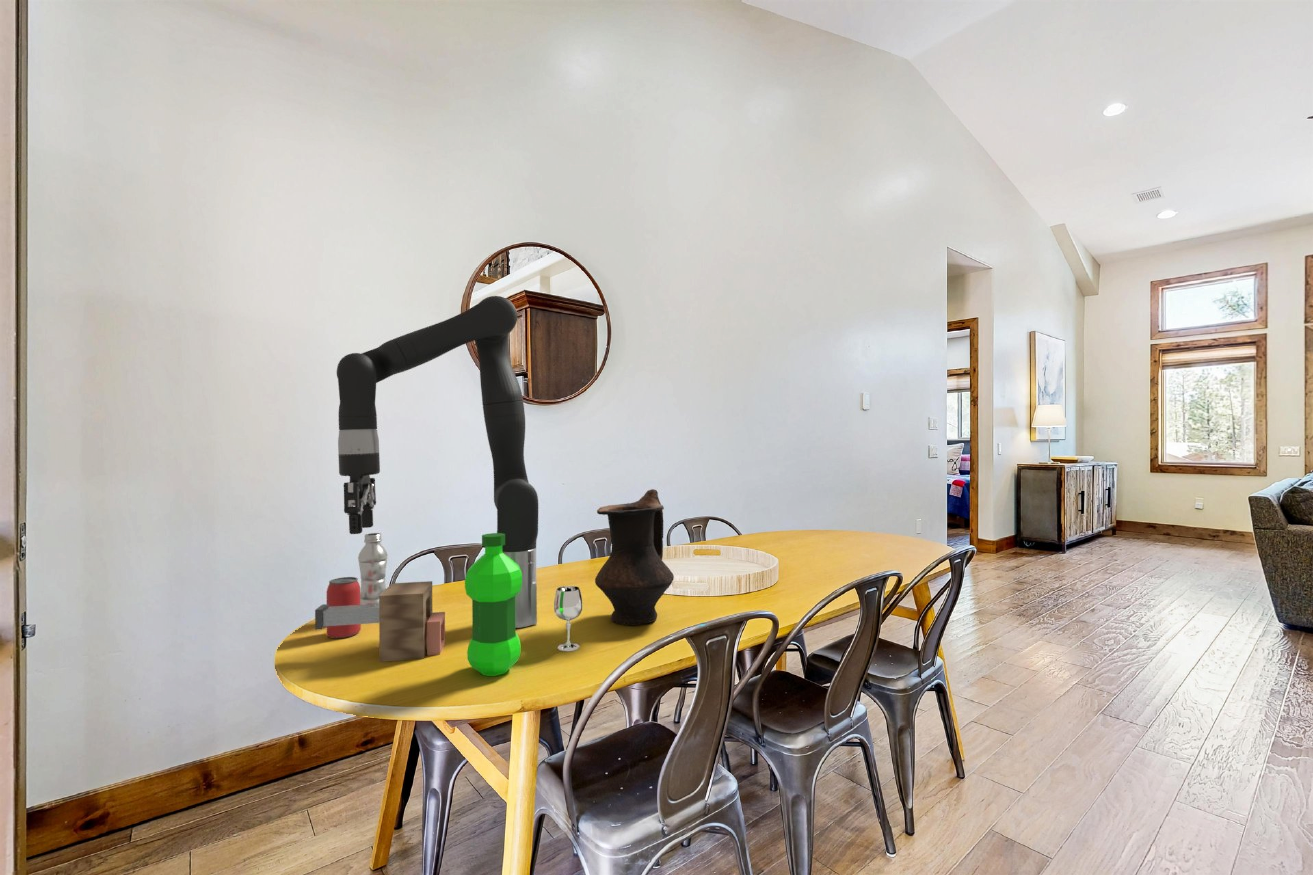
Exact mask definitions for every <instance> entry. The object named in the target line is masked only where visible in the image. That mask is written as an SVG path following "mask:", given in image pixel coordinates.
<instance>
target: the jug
mask: <svg viewBox="0 0 1313 875" xmlns="http://www.w3.org/2000/svg"><path fill="white" fill-rule="evenodd" d="M663 510H665V507H664V505H662V504H661V501H660V499H659V492H658V491H657V489H654V488H653V489H648V490H647V491H646V492H645V493H644V495H642V497H641V498H640V499H639V500H638V501H634V502H628V503H622V504H610V505H605V506H601V507H599V508H598V509H597V510H596V513H597V515H603V516H607V521H608V526H609V532H610V543H611V552H610V554H609V557H608V559H607V560H606V561H605V562H604V564H603V565H602V567H601V568H600V570H599V571H598V573H597V575H596V576H595V578H594V582H595V586H596V587H597V588H598V589H600V590H601V592H602V593H603V594H604V595H605V596H606V597H607V599H608V600H609V602H610V604H611V605H612V606H613V611H612V613H611V615H610V619H611V620H610V621H611V622H612V623H615V624H618V625H631V626H634V625H643V624H648V623H652V622H655V621H657V618H658V613H657V611H656V605H657V603H658V601H659V600H660V599H661V598H662V596H663V595H664V593H665V592H666V590H669V588H670V586H671V585H672V583H673V581H674V579H675V576H674V574H673V572H672V571H671V569H670V568H669V567H668V566H667V564H666V563H665V562H664V561H663V556H664V540H663V539H664V511H663Z"/></svg>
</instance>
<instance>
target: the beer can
mask: <svg viewBox="0 0 1313 875" xmlns="http://www.w3.org/2000/svg"><path fill="white" fill-rule="evenodd" d="M358 580H359V578H358V577H355V576H347V577H346V576H345V577H343V576H342V577H337V578H333V579H330V580H329V584H328V585H327V588H326V604H329V607H332V606H349V605H360V594H361V584H360V583H359V581H358ZM361 625H362V624H354V625H338V626H326V635H327V637H329V638H330V639H331V638H332V639H346V638H351V637H352V636H353V637H354V636H356V635H358V634H359V633H360V631H361V629H362V628H361Z"/></svg>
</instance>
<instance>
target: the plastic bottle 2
mask: <svg viewBox="0 0 1313 875" xmlns="http://www.w3.org/2000/svg"><path fill="white" fill-rule="evenodd" d="M502 545H505V534H503V533H497V532H493V533H484V534H482V535H481V546H482V547H484V554H483V555H482V556H480V557H479V558H478V559H477V560H476V561H475V562H474V563H473V564H472V565H471V566H470V567H469V568H468V570H467V572H466V575H465V578H464V589H465V593H466V595H467V596H468V598H470V599H471V601H472V602H471V604H472V607H471V608H472V610H471V612H472V613H471V614H472V617H471V620H472V626H471V627H472V635H471V636H472V637H471V638H470V640H469V644H468V647H467V650H466V654H467V655H466V656H467V657H466V659H467V662H468V664H469V665H470V666H471V668H473V669H474V670H476V671H477V672H479V674H480V675H483V676H487V677H489V676H490V677H496V676H499V675H500V676H501V675H503V674H506V673H507V672H508V671H510V670H509V669H511V668H512V667H513V666H514V665H515V664H516V663H517V662H518V660H519V658H520V656H521V652H522V648H521V647H522V646H521V640H520V638H519V635H518V633H517V632H516V628H515V596H516V595H517V594H518V593H519V592H520V591H521V586H522V572H521V570H520V567H519V565H517V564H516V563H515V562H514V561H513V560H512V559H511V558H509V557H508V556H506V555H505V554H504V553H502Z"/></svg>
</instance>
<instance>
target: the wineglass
mask: <svg viewBox="0 0 1313 875" xmlns="http://www.w3.org/2000/svg"><path fill="white" fill-rule="evenodd" d="M553 610H554V614H555V616H556V617H557V618H558V619H560V620H562V621H566V623H565V628H566V631H567V632H566V633H567V636H566V638H567V639H566V642H565V643H561V644H559V645H558V646H557V650H558V651H560V652H574V651H576V650H578V649H579V648H580V645H579V644H578V643H572V642H571V640H570V631H571V626H572V624H571V621H573V620H575V619H577V618H578V617H579V616H580V615H581V614H582V611H583V597H582V592H581V588H580V587H579V586H575V585H563V586H560V587H557V588H556V591H555V593H554V601H553Z"/></svg>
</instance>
